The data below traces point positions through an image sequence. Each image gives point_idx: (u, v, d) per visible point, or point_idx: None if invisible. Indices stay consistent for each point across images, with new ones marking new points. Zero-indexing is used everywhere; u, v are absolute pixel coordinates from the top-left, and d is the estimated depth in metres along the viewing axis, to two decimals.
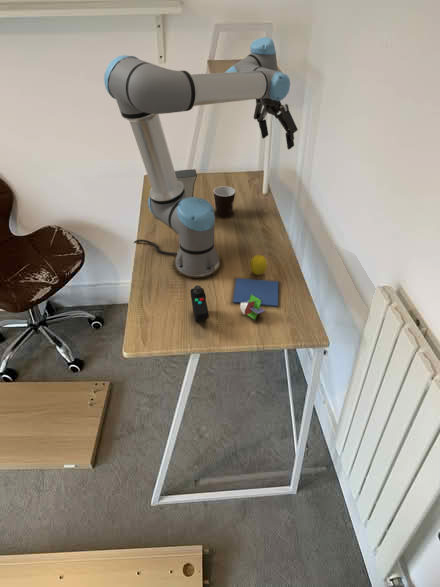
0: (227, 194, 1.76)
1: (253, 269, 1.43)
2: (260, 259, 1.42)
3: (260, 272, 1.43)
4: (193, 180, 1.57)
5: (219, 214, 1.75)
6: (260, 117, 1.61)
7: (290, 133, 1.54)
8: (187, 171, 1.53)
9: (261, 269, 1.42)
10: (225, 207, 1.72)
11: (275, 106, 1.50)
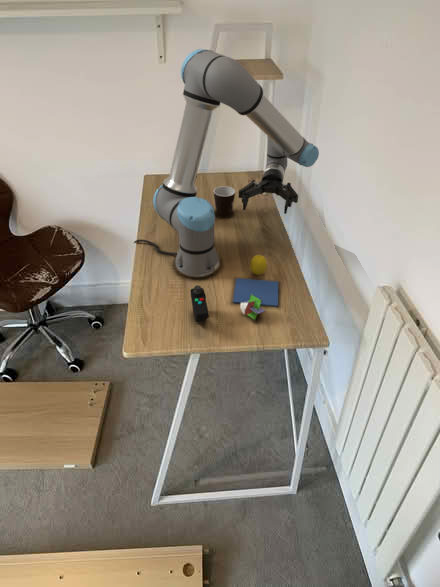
0: (227, 194, 1.76)
1: (253, 269, 1.43)
2: (260, 259, 1.42)
3: (260, 272, 1.43)
4: None
5: (219, 214, 1.75)
6: (250, 190, 1.49)
7: (292, 198, 1.45)
8: None
9: (261, 269, 1.42)
10: (225, 207, 1.72)
11: (279, 182, 1.52)
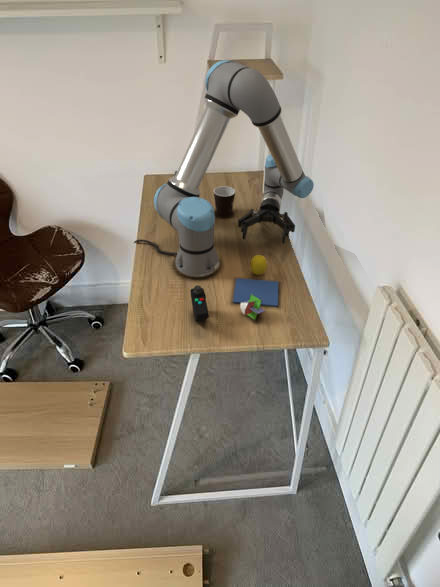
0: (227, 194, 1.76)
1: (253, 269, 1.43)
2: (260, 259, 1.42)
3: (260, 272, 1.43)
4: None
5: (219, 214, 1.75)
6: (249, 219, 1.55)
7: (289, 227, 1.52)
8: None
9: (261, 269, 1.42)
10: (225, 207, 1.72)
11: (277, 212, 1.59)
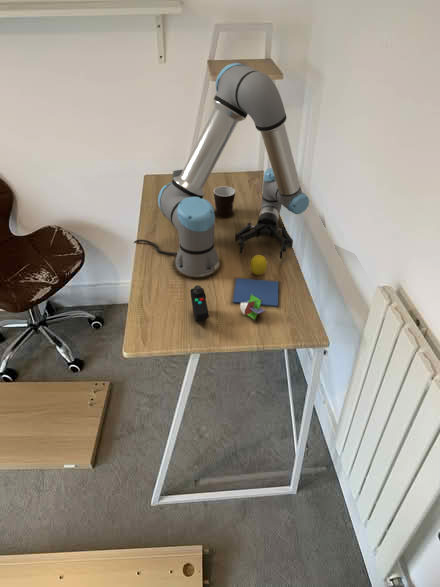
0: (227, 194, 1.76)
1: (253, 269, 1.43)
2: (260, 259, 1.42)
3: (260, 272, 1.43)
4: None
5: (219, 214, 1.75)
6: (247, 233, 1.54)
7: (287, 243, 1.50)
8: None
9: (261, 269, 1.42)
10: (225, 207, 1.72)
11: (274, 226, 1.57)
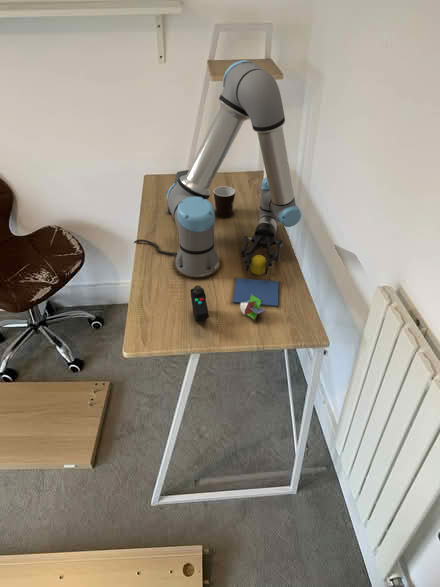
0: (227, 194, 1.76)
1: (253, 269, 1.43)
2: (260, 259, 1.42)
3: (260, 272, 1.43)
4: None
5: (219, 214, 1.75)
6: (251, 248, 1.46)
7: (272, 258, 1.43)
8: None
9: (261, 269, 1.42)
10: (225, 207, 1.72)
11: (273, 238, 1.52)
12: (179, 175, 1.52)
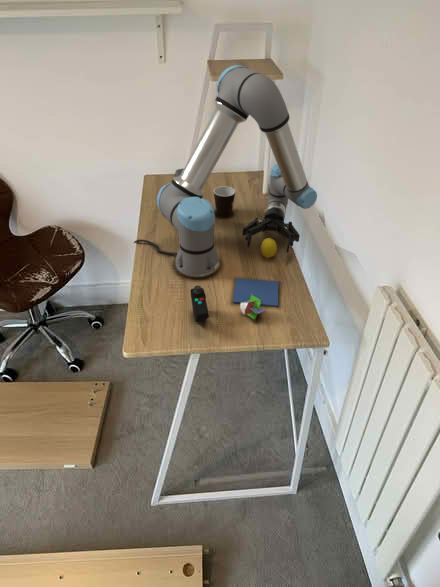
0: (227, 194, 1.76)
1: (264, 252, 1.51)
2: (270, 241, 1.49)
3: (270, 254, 1.51)
4: None
5: (219, 214, 1.75)
6: (254, 227, 1.55)
7: (294, 237, 1.52)
8: None
9: (271, 251, 1.50)
10: (225, 207, 1.72)
11: (281, 221, 1.59)
12: (178, 173, 1.52)
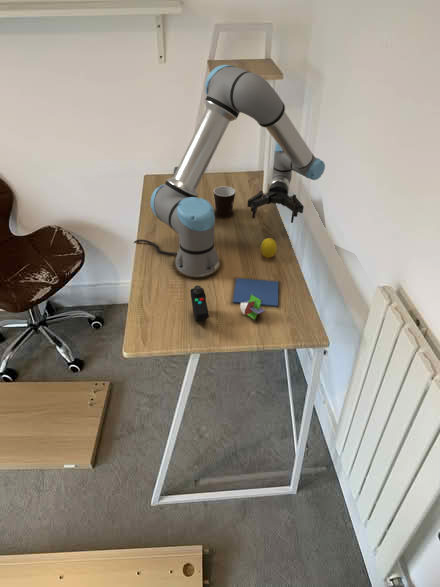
0: (227, 194, 1.76)
1: (264, 252, 1.51)
2: (270, 241, 1.49)
3: (270, 254, 1.51)
4: None
5: (219, 214, 1.75)
6: (259, 199, 1.59)
7: (298, 208, 1.55)
8: None
9: (271, 251, 1.50)
10: (225, 207, 1.72)
11: (285, 194, 1.63)
12: None
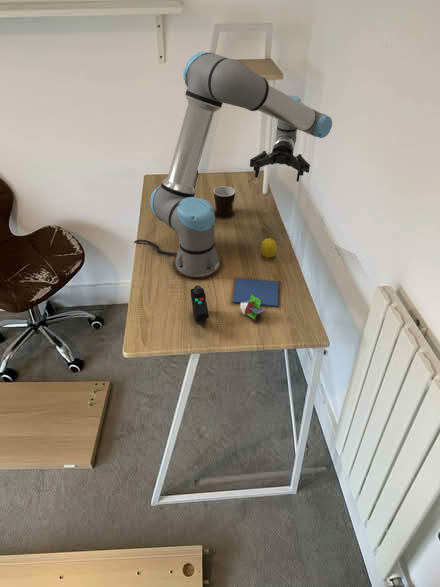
0: (227, 194, 1.76)
1: (264, 252, 1.51)
2: (270, 241, 1.49)
3: (270, 254, 1.51)
4: (195, 179, 1.57)
5: (219, 214, 1.75)
6: (262, 159, 1.49)
7: (304, 167, 1.45)
8: None
9: (271, 251, 1.50)
10: (225, 207, 1.72)
11: (290, 154, 1.53)
12: None
